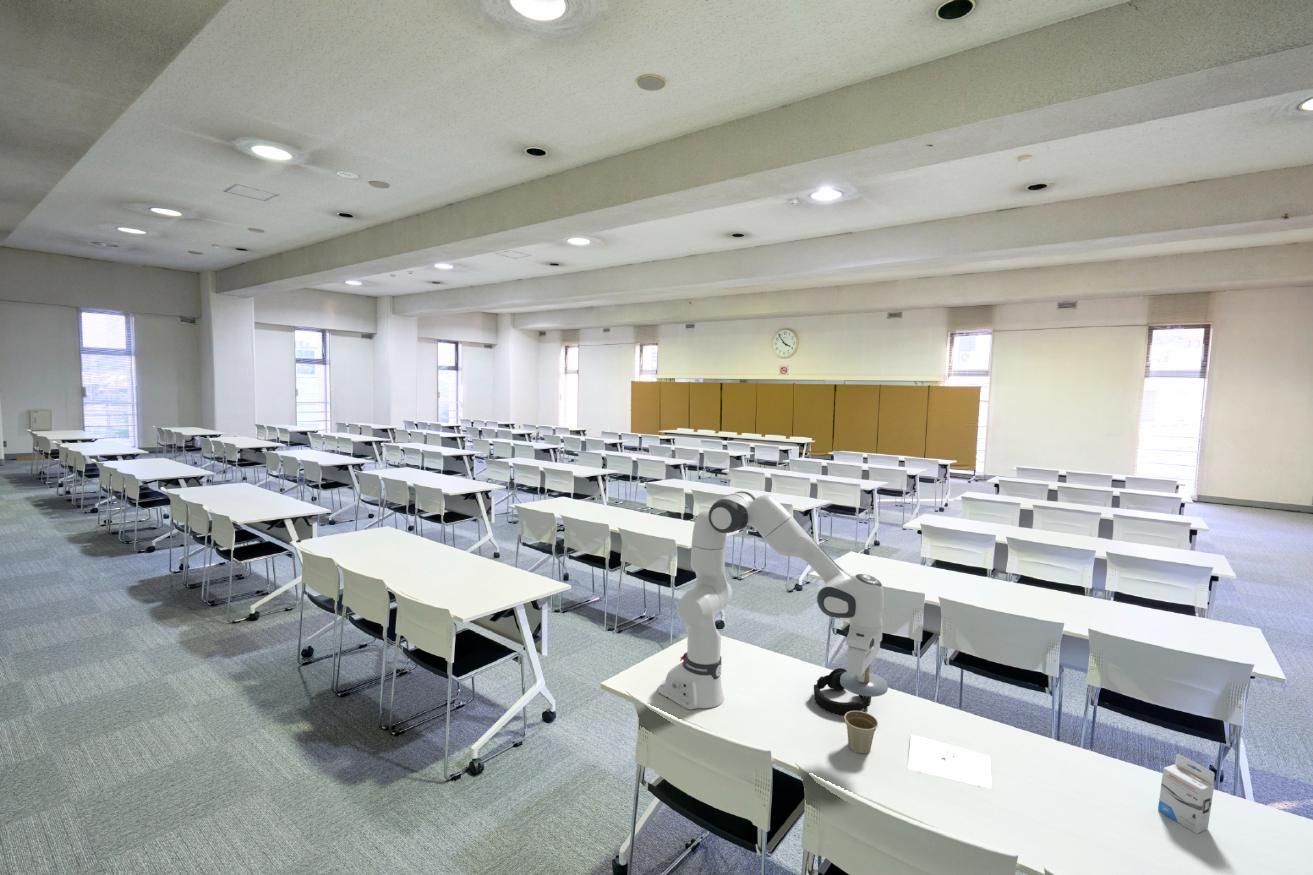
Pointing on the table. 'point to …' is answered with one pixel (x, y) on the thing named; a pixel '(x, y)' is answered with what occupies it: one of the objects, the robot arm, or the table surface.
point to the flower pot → (860, 730)
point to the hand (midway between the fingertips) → (863, 677)
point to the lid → (864, 684)
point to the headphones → (835, 684)
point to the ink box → (1187, 794)
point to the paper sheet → (949, 761)
